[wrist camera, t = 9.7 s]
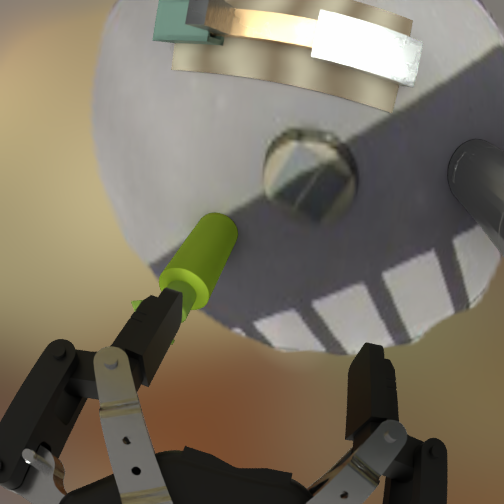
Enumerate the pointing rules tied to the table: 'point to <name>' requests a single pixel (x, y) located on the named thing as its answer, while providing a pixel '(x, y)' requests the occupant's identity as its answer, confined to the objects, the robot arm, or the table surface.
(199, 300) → the soap dispenser
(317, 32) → the outer sleeve
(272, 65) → the base board
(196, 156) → the table surface
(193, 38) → the socket block
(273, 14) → the inner bar
